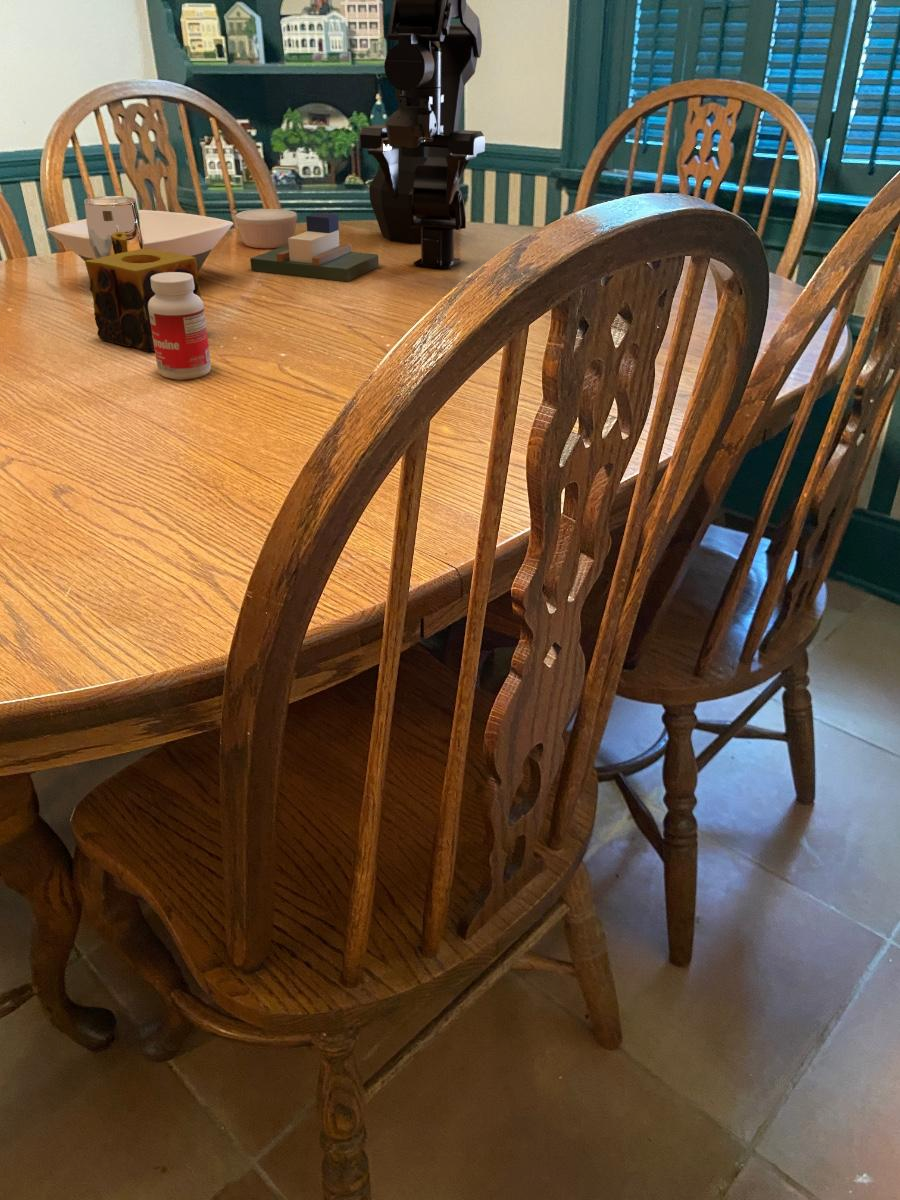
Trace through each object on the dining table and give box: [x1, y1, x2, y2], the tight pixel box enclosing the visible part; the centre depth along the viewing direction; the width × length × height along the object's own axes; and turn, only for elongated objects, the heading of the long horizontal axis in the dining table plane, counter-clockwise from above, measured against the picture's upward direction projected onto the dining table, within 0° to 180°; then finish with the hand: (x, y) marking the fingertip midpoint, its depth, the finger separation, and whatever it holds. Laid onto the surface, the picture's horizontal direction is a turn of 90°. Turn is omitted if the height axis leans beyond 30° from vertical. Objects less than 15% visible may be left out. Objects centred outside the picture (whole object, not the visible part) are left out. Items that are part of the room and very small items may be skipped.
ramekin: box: [234, 208, 298, 249], centre depth 169 cm, size 11×11×5 cm
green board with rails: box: [249, 243, 379, 283], centre depth 153 cm, size 12×18×3 cm, turn 69°
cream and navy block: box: [288, 212, 341, 263], centre depth 151 cm, size 10×4×6 cm, turn 159°
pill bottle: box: [148, 272, 212, 381], centre depth 105 cm, size 6×6×11 cm
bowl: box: [46, 209, 234, 274], centre depth 142 cm, size 22×23×8 cm
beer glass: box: [83, 195, 144, 259], centre depth 125 cm, size 7×7×15 cm
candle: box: [84, 249, 202, 353], centre depth 117 cm, size 10×10×10 cm
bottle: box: [368, 88, 436, 243], centre depth 170 cm, size 16×16×30 cm
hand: (421, 201), depth 142 cm, fingers open, 9 cm apart
